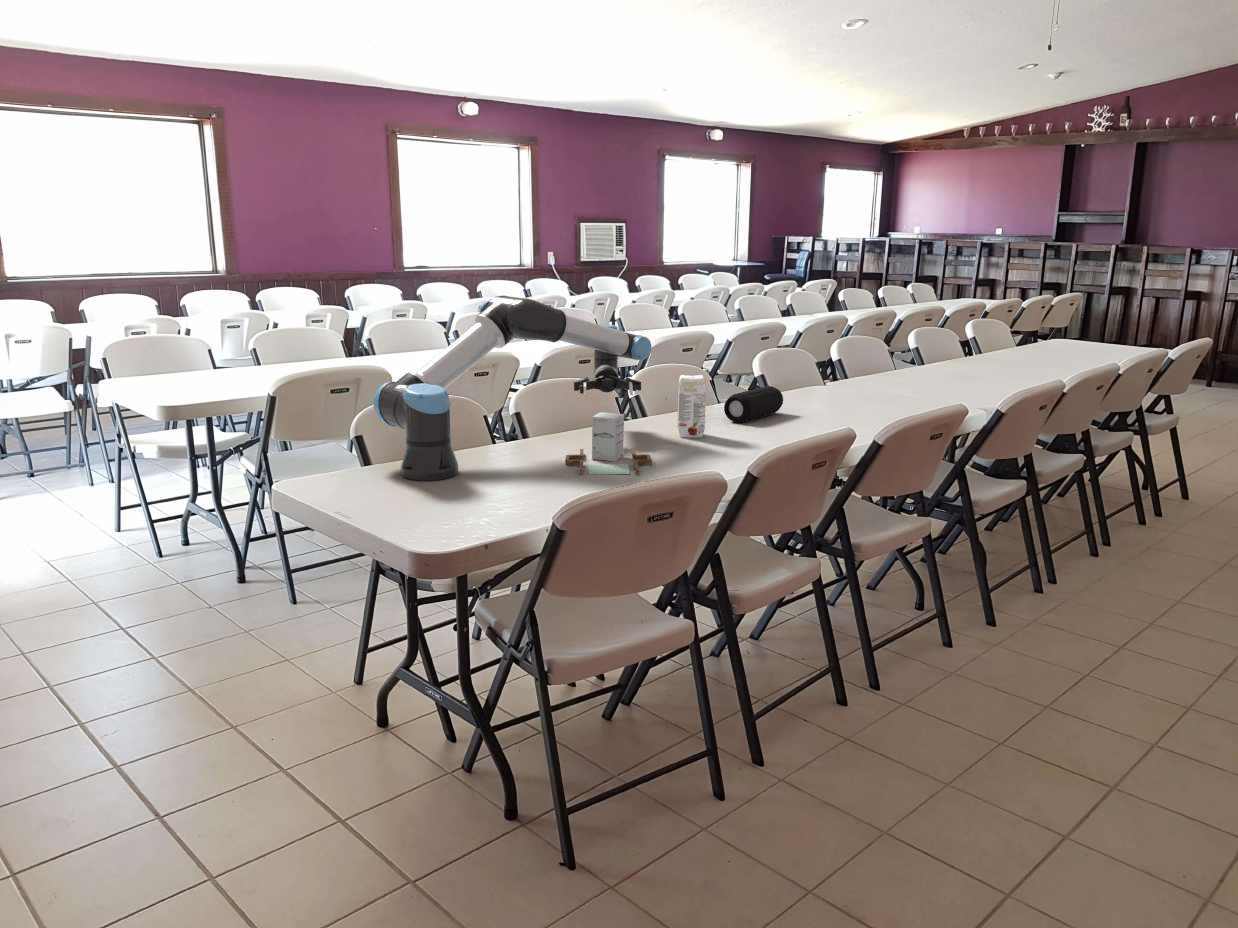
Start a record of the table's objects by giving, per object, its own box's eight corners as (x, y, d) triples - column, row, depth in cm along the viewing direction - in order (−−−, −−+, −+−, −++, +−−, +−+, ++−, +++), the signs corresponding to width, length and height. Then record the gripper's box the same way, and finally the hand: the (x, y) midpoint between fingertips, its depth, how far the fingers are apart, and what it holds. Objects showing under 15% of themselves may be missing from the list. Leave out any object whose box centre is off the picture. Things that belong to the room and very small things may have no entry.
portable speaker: (760, 411, 341) (762, 383, 338) (784, 414, 335) (786, 386, 332) (721, 422, 322) (722, 393, 319) (746, 426, 316) (747, 396, 313)
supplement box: (591, 459, 269) (591, 416, 266) (600, 454, 276) (600, 411, 273) (615, 462, 267) (615, 418, 264) (624, 456, 273) (624, 413, 270)
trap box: (564, 475, 252) (564, 469, 252) (566, 453, 276) (566, 448, 275) (654, 475, 253) (654, 469, 253) (648, 453, 277) (648, 448, 276)
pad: (588, 474, 253) (588, 473, 253) (588, 465, 263) (588, 464, 263) (630, 474, 254) (630, 473, 254) (628, 465, 263) (628, 464, 263)
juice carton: (705, 438, 297) (706, 378, 292) (677, 438, 297) (679, 378, 292) (703, 433, 304) (705, 374, 299) (676, 432, 304) (678, 374, 299)
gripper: (646, 390, 298) (650, 403, 278) (567, 390, 298) (565, 403, 277) (646, 366, 297) (650, 377, 276) (566, 367, 296) (565, 378, 275)
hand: (608, 391), depth 277 cm, fingers open, 13 cm apart
